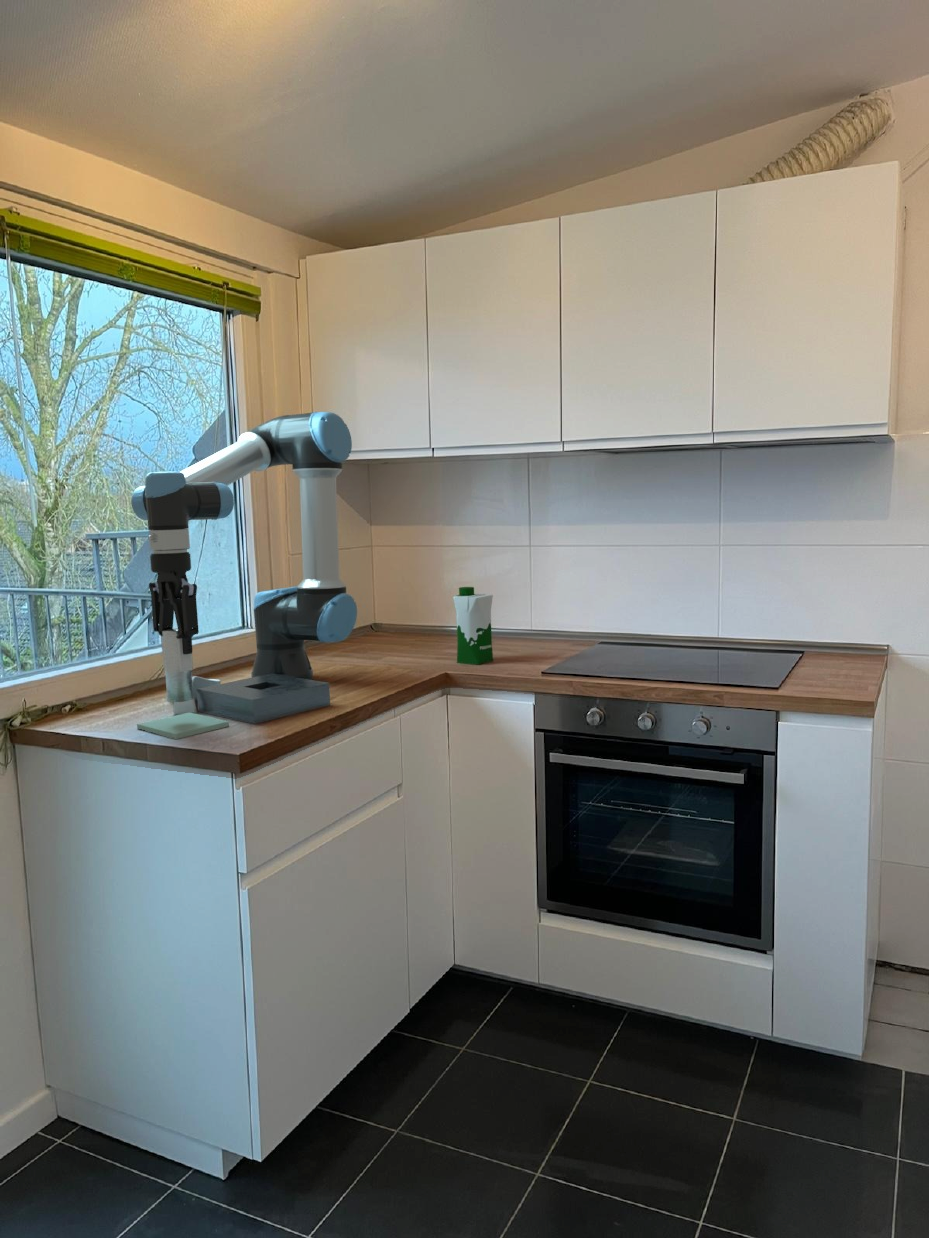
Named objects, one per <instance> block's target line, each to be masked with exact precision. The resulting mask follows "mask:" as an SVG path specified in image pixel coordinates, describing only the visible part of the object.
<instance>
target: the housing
mask: <svg viewBox="0 0 929 1238" xmlns="http://www.w3.org/2000/svg"><path fill="white" fill-rule="evenodd" d="M330 691H331V690H330V682H326V681H320V680H314V679H312V680H309V679H303V678H297V677H290V676H284V675H278V674H268V675H263V676H258V677H253V678H251V677H248V678H243V679H237V680H235V681H233V680H232V681H228V682H224V683H220V684H218V685H213V686H208V687H203V688H198V689H197V699H198V700H197V712H199V713H204V714H208V715H213V716H217V717H220V718H226V719H231V720H233V721H238V722H243V723H248V724H253V725H255V724H256V725H257V724H260V723H265V722H269V721H272V720H273V721H274V720H277V719H281V718H284V717H289V716H292V715H297V714H301V713H305V712H309V711H312V710H317V709H321V708H326V707H330V706H331V696H330V693H331V692H330Z"/></svg>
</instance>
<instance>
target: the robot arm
mask: <svg viewBox="0 0 929 1238" xmlns="http://www.w3.org/2000/svg"><path fill="white" fill-rule="evenodd" d="M352 443H353V441H352V435H351V432H350V429H349V427H348V425H347V423H345V421H344V419H343V418H342V417H341V416H340V415H338V414H336V413H335V412H331V411H313V412H308V413H307V412H306V413H305V412H304V413H299V414H298V413H296V414H285V415H280V416H277V417H273V418H271V419H269V420H267V421H265V422H263V423H261V424H259V425H257V426H255V427H253V428H251V429H249V430H247V431H245V432H244V433H241V434H240V436H238V439H237V441H236V442H234V443H233V444H231V445H228V446H227V447H224V448H223V449H221V450H219V451H217V452H215V453H214V454H212V455H210V456H208V457H206V458H204V459H202V460H200V461H198V462H196V463H195V464H192V465H190V466H189V467H186V468H185V469H183V470H181V471H155V472H154V471H152V472H149V473H147V474H146V475H145V478H144V485H140V486H139V487H137V488H136V489H135V490H134V491H133V493H132V495H131V501H130V504H131V508H132V510H133V512H134V514H135V515H136V517H138V518H139V519H141V520H143V521H147V528H148V537H147V539H148V541H149V550H150V551H152V552H153V553H151V554H150V555H149V558H150V560H149V561H150V571H151V572H152V573H153V574H154V573H157V577H156V581H154V582H149V584H148V589H149V592H150V595H151V596H150V598H151V613H152V614H151V615H152V629H153V631H154V632H157V633H158V635H159V636H160V642H161V650H162V651H161V652H162V666H163V669H164V670H165V662H164V648H163V635H162V631H163V630H167V629H174V616H175V622H176V625H177V628H178V632H179V636H176V638H177V648H178V662H179V671H187V670H193V671H194V659H193V657H194V656H193V638H192V637H194V636H195V635H198V634H199V619H198V618H199V617H198V605H197V604H198V603H197V593H198V592H197V591H198V586H197V584H196V583H189V581H188V580H189V579H188V578H187V572H189V571H191V570H192V561H191V553H190V552H189V551H188V550H190V549H191V543H190V542H191V541H190V531H189V521H198V520H199V521H204V520H205V521H207V520H214V521H216V520H219V519H220V520H221V519H224V518H227V517H228V516H230V515H231V513H232V511H233V510H234V506H235V505H234V504H235V499H234V498H235V497H234V494H233V492H232V490H231V488H230V487H229V485H231V484H233V483H236V482H237V481H238V480H241V479H242V478H244V477H245V476H248V475H249V474H251V473H252V472H254V471H255V472H263V471H265V470H267V469H268V468H271V467H276V466H282V465H283V466H284V465H292V466H291V467H292V472H293V473H294V474H295V475H296V476H297V477H298V479H299V501H300V502H299V503H300V519H301V520H300V524H301V525H300V527H301V528H300V529H301V549H302V550H301V553H302V554H301V555H302V578H303V579H302V580H301V582H300V583H299V584H298V585H297V586H292V587H291V586H290V587H284V588H283V587H282V588H277V589H270V590H263V591H259V592H257V593H256V594H255V595H254V598H253V617H254V629H255V639H256V640H255V642H256V654H255V658H254V662H253V666H252V667H253V668H252V671H251V677H250V678H253V677H258V676H263V675H268V674H278V675H284V676H290V677H297V678H303V679H309V680H314V670H313V667H312V665H311V663H310V660H309V657H308V654H307V651H306V648H305V641H307V642H321V643H324V644H325V643H326V644H327V643H338V642H342V641H344V640H345V639H347V638H348V637H349V636H350V634H351V633H352V631H353V630H354V628H355V625H356V623H357V618H358V606H357V603H356V601H355V599H354V597H353V596H351V595H350V594H349V593H347V585H346V584H345V582H344V581H343V580H341V578H340V556H339V525H338V521H339V520H338V496H337V477H338V476H339V475H340V473H342V471H343V462H346V461H347V459H348V458H349V457H350V454H351V452H352V449H353V448H352V447H353V444H352Z"/></svg>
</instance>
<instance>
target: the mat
mask: <svg viewBox="0 0 929 1238" xmlns="http://www.w3.org/2000/svg"><path fill="white" fill-rule="evenodd" d="M229 722H230V721H228V720H224V719H220V718H216V717H212V716H208V715H203V714H197V713H190V712H189V713H185V714H179V715H171V716H167V717H162V718H158V719H155V720H154V719H153V720H149V721H144V722H140V723H137V724H136V728H137V730H139V729H142V730H141V731H143V730H145V731H144V732H148V733H151V732H153V733H152V734H154V733H156V734H155V735H158V736H163V737H167V738H169V739H174V740H178V739H182V738H187V737H191V736H195V735H199V734H203V733H208V732H211V731H215V730H218V729H223V728H226V727H230V723H229Z"/></svg>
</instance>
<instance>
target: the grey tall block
mask: <svg viewBox="0 0 929 1238" xmlns="http://www.w3.org/2000/svg"><path fill="white" fill-rule="evenodd" d="M162 635H163V648H164V662H165V669H164V674H165V686H166V687H165V688H166V701H167V702H169V703H174V702H184V701H189V700H192V699H193V685H192V677H193V675H192V674H193V673H192V670H187V671H179V662H178V648H177V638H176V636H179V632H178V627H177V628H173V629H167V630H163V631H162Z"/></svg>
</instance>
